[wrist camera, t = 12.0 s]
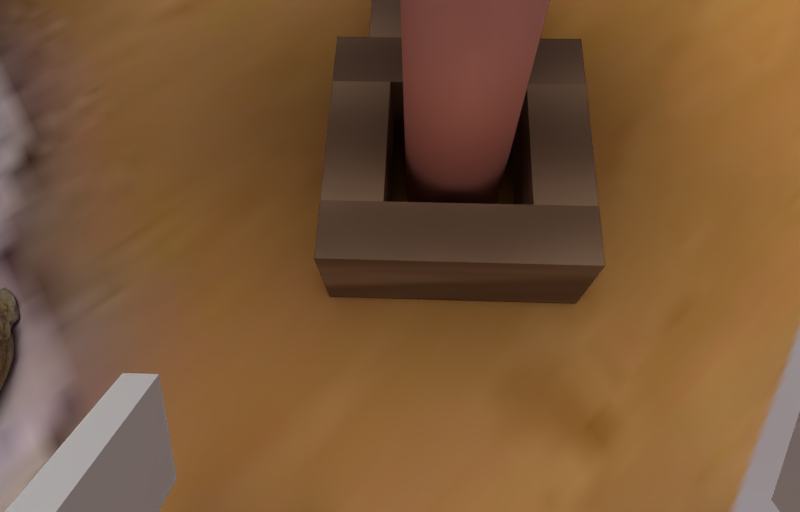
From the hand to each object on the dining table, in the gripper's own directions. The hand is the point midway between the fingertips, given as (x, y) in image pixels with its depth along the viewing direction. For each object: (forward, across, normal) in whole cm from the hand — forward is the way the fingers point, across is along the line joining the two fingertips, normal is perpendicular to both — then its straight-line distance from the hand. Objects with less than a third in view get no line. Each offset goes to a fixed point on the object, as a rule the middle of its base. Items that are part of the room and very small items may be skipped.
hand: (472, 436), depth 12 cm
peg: (+15, 0, +1) cm, 15 cm away
